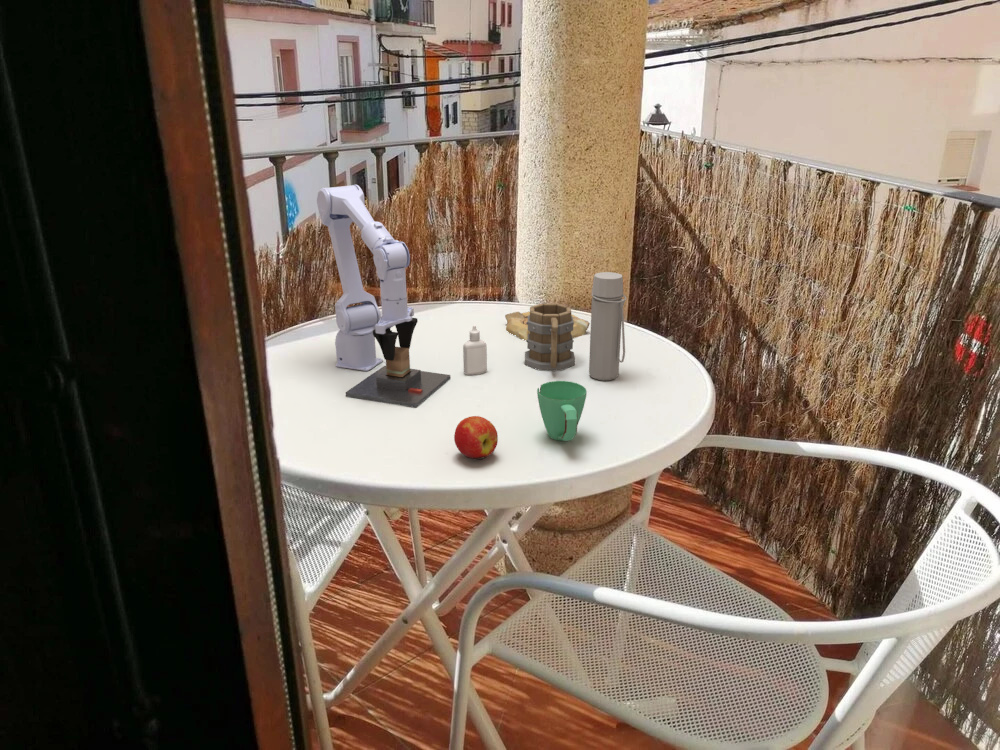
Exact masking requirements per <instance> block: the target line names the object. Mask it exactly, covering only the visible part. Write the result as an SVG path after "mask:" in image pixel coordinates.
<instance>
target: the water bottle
mask: <svg viewBox="0 0 1000 750" xmlns="http://www.w3.org/2000/svg"><path fill="white" fill-rule="evenodd" d="M591 287H592V288H591V294H590V295H591V297H592V298H591V307H590V308H591V309H590V311H591V312H590V337H589V358H588V359H589V360H588V361H589V363H588V364H589V365H588V373H589V376H590V377H591V378H593V379H594V380H597V381H603V382H604V381H612V380H616V378H617V377H618V375H620V374H619V373H620V371H619V370H620V363H623V362H624V360H625V356H626V343H625V342H626V338H625V322H624V321H625V320H624V319H625V317H624V316H625V315H624V305H625V303H626V301H627V296H626V295H625V294H624V277H623V275H622V273H618V272H614V271H613V272H611V271H605V272H604V271H602V272H597V273H595V274H594V275H593V281H592V286H591ZM621 339H622V357H621V359H620V355H621Z"/></svg>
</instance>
